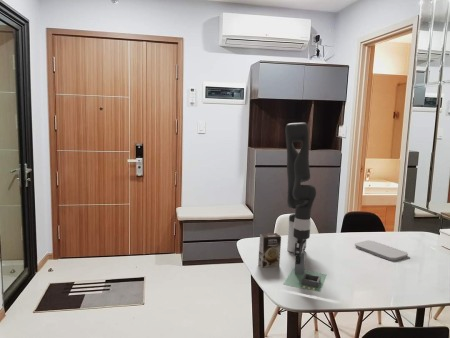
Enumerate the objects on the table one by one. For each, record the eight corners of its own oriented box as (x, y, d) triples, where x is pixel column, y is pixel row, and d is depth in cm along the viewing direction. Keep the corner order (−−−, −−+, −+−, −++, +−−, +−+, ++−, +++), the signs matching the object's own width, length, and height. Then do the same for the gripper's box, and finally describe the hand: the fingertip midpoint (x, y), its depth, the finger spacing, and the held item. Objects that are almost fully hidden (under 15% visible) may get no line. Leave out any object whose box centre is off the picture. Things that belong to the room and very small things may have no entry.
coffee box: (262, 269, 176) (264, 237, 173) (257, 264, 182) (259, 233, 180) (279, 268, 178) (281, 236, 176) (274, 263, 184) (276, 232, 182)
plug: (296, 270, 173) (297, 249, 172) (304, 271, 172) (306, 250, 170) (294, 273, 170) (295, 252, 168) (303, 275, 168) (304, 253, 167)
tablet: (369, 243, 222) (369, 239, 221) (410, 257, 200) (410, 253, 200) (352, 247, 213) (352, 243, 213) (392, 262, 191) (392, 258, 191)
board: (293, 270, 176) (293, 263, 176) (326, 276, 170) (327, 269, 169) (282, 286, 158) (283, 278, 157) (320, 294, 152) (320, 286, 151)
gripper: (297, 222, 176) (295, 254, 178) (290, 229, 163) (288, 264, 165) (312, 224, 173) (310, 257, 175) (307, 232, 160) (304, 267, 162)
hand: (299, 260), depth 170 cm, fingers open, 8 cm apart
